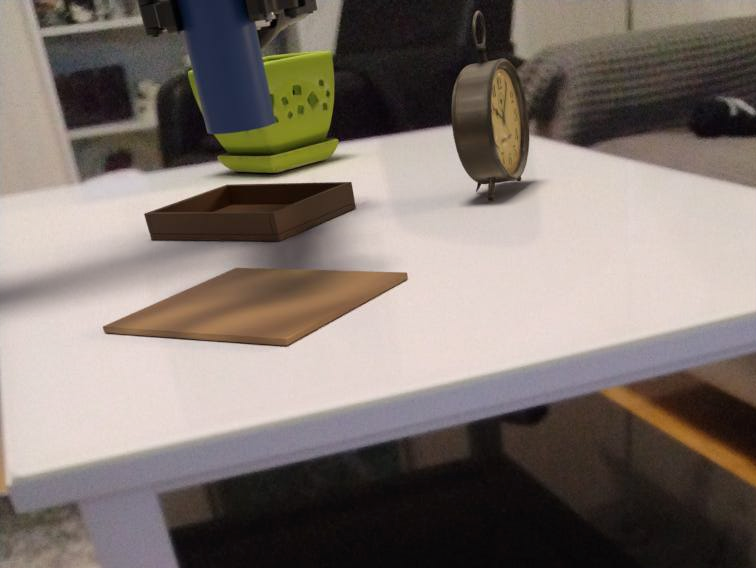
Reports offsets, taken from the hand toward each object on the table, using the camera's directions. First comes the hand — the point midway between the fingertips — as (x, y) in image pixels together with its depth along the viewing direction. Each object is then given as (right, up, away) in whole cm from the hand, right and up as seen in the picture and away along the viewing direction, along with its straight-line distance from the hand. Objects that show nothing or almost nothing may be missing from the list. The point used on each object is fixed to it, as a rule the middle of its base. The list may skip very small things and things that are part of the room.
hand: (210, 9), depth 71 cm
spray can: (+1, -5, +7) cm, 8 cm away
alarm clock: (+20, +3, +35) cm, 41 cm away
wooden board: (+1, -18, +9) cm, 20 cm away
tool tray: (-5, 0, +36) cm, 37 cm away
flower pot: (-8, +20, +66) cm, 70 cm away
